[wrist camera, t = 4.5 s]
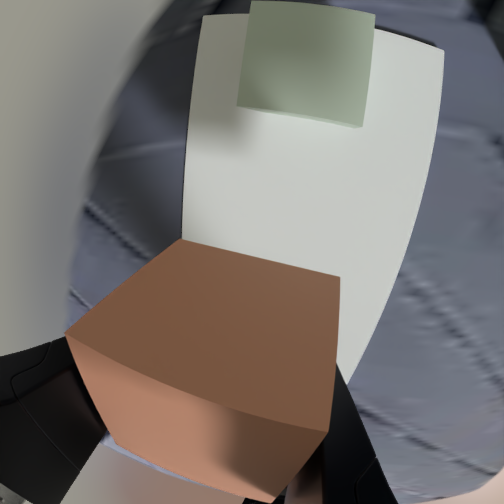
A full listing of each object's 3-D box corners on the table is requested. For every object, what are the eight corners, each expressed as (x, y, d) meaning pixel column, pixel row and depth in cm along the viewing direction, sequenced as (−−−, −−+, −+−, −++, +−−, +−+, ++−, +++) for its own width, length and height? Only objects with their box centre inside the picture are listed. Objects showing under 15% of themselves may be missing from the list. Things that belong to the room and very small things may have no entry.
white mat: (340, 391, 20) (340, 396, 20) (186, 349, 23) (183, 353, 22) (440, 53, 10) (444, 50, 9) (207, 18, 12) (203, 15, 12)
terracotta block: (301, 386, 9) (270, 503, 5) (181, 350, 10) (116, 444, 6) (340, 277, 7) (328, 431, 3) (179, 238, 8) (64, 332, 4)
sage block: (354, 128, 13) (362, 126, 9) (265, 112, 13) (236, 106, 10) (364, 46, 11) (375, 14, 7) (275, 33, 12) (251, 0, 8)
